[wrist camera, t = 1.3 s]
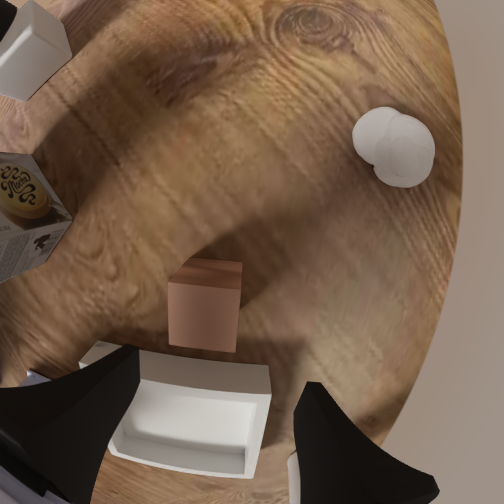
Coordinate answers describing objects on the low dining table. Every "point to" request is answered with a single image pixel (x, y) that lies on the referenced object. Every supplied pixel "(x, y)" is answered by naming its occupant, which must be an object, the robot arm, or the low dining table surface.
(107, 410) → the robot arm
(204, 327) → the copper brown block
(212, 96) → the low dining table surface
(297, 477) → the drinking glass
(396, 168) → the dumpling
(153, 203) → the low dining table surface
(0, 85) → the medicine bottle
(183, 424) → the bin
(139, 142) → the low dining table surface
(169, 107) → the low dining table surface
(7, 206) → the coffee box
